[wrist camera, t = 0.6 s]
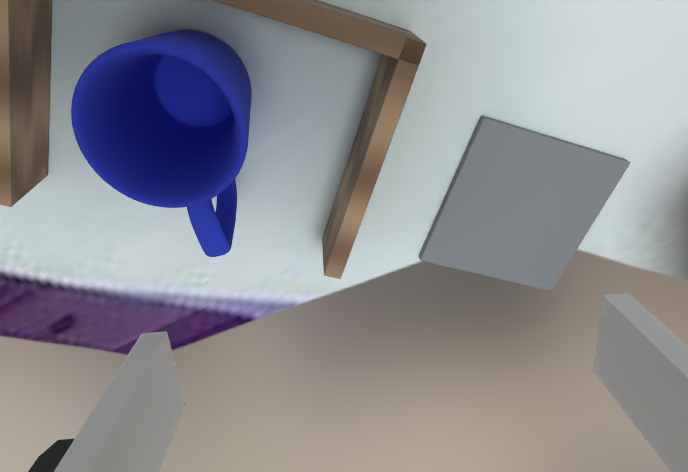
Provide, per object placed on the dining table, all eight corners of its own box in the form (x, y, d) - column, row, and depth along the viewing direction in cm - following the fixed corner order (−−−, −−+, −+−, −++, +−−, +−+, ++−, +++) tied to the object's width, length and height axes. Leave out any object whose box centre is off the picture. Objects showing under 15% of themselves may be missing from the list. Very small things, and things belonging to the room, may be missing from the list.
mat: (481, 115, 35) (484, 118, 34) (625, 159, 37) (630, 162, 37) (418, 256, 40) (420, 260, 40) (548, 286, 43) (551, 290, 42)
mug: (184, 203, 37) (146, 282, 28) (112, 32, 31) (35, 65, 22) (292, 179, 36) (287, 251, 28) (240, 1, 30) (214, 22, 22)
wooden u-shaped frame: (30, -96, 27) (-22, -104, 23) (410, 31, 32) (426, 44, 27) (29, 170, 35) (-11, 202, 30) (336, 242, 39) (340, 278, 35)
